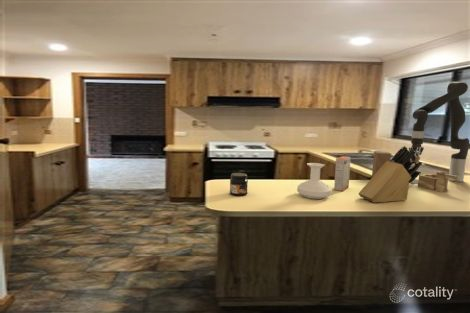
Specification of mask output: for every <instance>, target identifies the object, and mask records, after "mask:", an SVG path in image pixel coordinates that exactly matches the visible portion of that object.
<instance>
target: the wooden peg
mask: <svg viewBox="0 0 470 313" xmlns="http://www.w3.org/2000/svg"><path fill="white" fill-rule="evenodd" d="M440 172H441V173H442V172H443V171H440ZM436 176H437V173H436ZM444 178H448V179H453V180H458V179H459V176H455V175H450V174H445V177H444Z"/></svg>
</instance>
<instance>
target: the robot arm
mask: <svg viewBox="0 0 470 313" xmlns="http://www.w3.org/2000/svg"><path fill="white" fill-rule="evenodd" d="M468 88H469V86H468V83H466V82H464V81H451V82H450V83H448V85H447V87H446V89H447V90H446V93H444V94H443V95H440V96H437V97H435V98H434V99H432V100H431V101H429V102H428V103H426V104H425V105H423V106H421V107H419V108H418V109H415V110H414V112H412V118H413V119H415V120H416V122H415V123H414V124H413V126H412V133H411V139H410V144H411V147H410V146H409V147H408V150H409V152H411V151H414V152H415V154H414V156H413V157H412V161H415V157H416V156H419V157H420V156H421V155H422V154H423V151H424V149H425V147H423V146H422V145H423V144H424V137H425V136H424V135H425V126H426V123H427V121H428V117H429V114H430V113H434V112H435V111H437V110H439V109H440V108H441V107H442V106H444V105H445V104H447V103H448V105H449V121H450V140H449V141H450V142H449V145H450V148H451V149H454V150H459V152H456V153H452V154H451V157H450V165H449V172H448V173H449V174H450V175H455V176H459V179H458V180H453V179H448V181H451V182H457V183H459V182H460V183H461V182H462V183H463V182H464V178H465V172H466V171H465V170H466V161H467V156H468V151H469V149H470V148H469V147H470V139H469V138H468V137H459V132H460V129H461V128H462V127H463V125H464V124H465V122H466V110H465V108H464V107H463V105H462V103H461V100H460V96H462V95H464V94H465V93H467V92H468V90H469V89H468Z"/></svg>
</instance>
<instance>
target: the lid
mask: <svg viewBox="0 0 470 313" xmlns="http://www.w3.org/2000/svg"><path fill="white" fill-rule="evenodd" d="M410 160H411V162H413V161H412V158H411V159H410ZM420 160H421V157H420V155H419V156H416V157H415V161H414V162H416V164H417V163H419V162H420ZM421 163H422V165H421V166H425V165H426V164H425V163H423V162H421ZM414 166H415V163H413V164H412V165H411V167H414ZM421 166H420V167H421Z"/></svg>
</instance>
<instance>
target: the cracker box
mask: <svg viewBox="0 0 470 313" xmlns="http://www.w3.org/2000/svg"><path fill="white" fill-rule="evenodd" d="M351 158H352V157H351V156H345V155H343V156H340V157H337V158H335V168H334V169H335V170H334V187H333V190H334V191H338V192H344V191H345V190H346V189H348V188H349V186H350V173H351V171H350V170H351Z"/></svg>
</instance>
